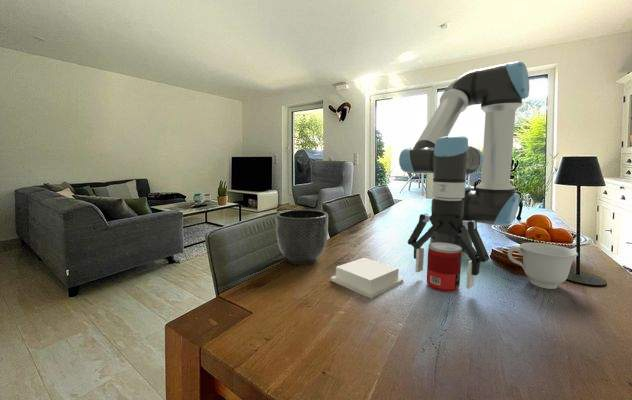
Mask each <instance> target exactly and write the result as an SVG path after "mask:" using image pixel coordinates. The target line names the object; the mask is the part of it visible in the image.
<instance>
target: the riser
mask: <svg viewBox="0 0 632 400" xmlns="http://www.w3.org/2000/svg"><path fill="white" fill-rule="evenodd" d="M399 270H400V269H399V268H398V267H394V266H392V265H388V264H385V263H383V262H380V261H376V260H373V259H370V258H367V257H362V258H359V259H356V260H353V261H350V262H346V263H344V264H340V265H338V266H335V275H333V276H330V282H331V281H332V282H334V283H335V284H338V285H340V286H343V287H344V288H347V289H348V290H351V291H353V292H355V293H358V294H359V295H362V296H364V297H366V298H369V299H373V298H375V297H377V296H379V295H381V294H383V293H385V292H387V291H389V290H392V289H393V288H395V287H396V288H397V286H400V285H401V284H404V279H403V278H400V277H399Z"/></svg>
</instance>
